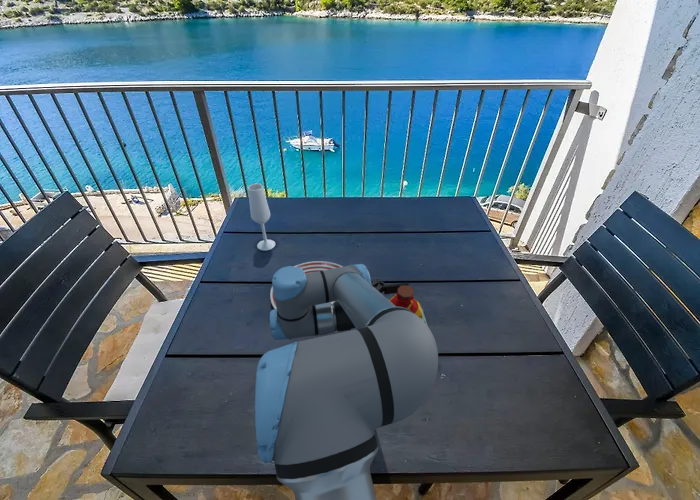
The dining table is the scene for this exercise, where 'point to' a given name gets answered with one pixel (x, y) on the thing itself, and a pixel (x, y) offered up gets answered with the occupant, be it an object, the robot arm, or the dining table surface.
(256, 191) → the champagne flute
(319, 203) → the dining table surface
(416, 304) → the potion bottle
